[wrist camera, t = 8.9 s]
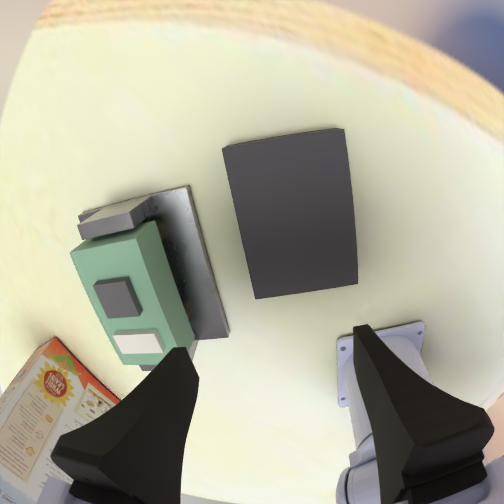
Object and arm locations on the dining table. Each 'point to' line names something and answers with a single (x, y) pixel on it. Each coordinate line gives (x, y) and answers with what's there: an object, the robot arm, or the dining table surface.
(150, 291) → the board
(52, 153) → the dining table surface
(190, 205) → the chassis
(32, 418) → the cracker box
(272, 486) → the dining table surface
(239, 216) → the pad
